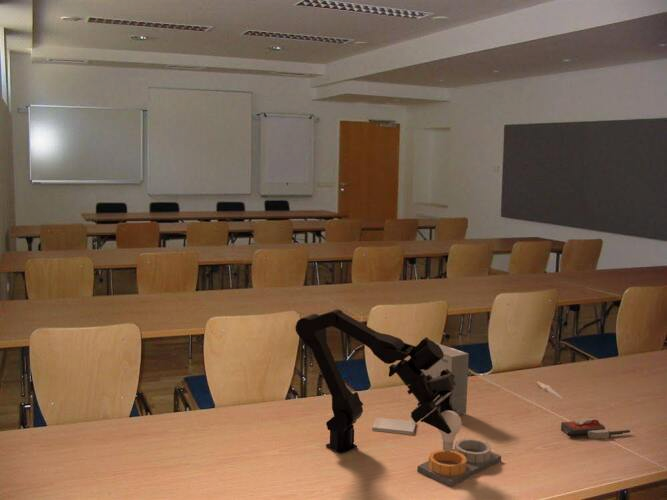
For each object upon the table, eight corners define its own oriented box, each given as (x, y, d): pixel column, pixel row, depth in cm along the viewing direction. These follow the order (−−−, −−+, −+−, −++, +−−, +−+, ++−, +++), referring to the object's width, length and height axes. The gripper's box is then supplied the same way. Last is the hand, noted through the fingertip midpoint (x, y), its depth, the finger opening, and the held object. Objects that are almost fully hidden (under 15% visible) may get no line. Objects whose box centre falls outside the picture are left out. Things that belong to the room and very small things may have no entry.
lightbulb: (455, 459, 175) (457, 418, 173) (431, 453, 178) (433, 413, 176) (463, 449, 181) (465, 409, 179) (439, 443, 184) (441, 404, 182)
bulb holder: (451, 486, 172) (451, 471, 172) (417, 471, 180) (417, 456, 180) (501, 461, 187) (501, 447, 186) (467, 447, 195) (468, 434, 194)
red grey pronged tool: (572, 442, 201) (631, 437, 205) (573, 428, 200) (633, 423, 205) (555, 430, 209) (613, 425, 214) (556, 416, 208) (614, 412, 213)
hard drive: (416, 421, 211) (376, 416, 214) (413, 431, 203) (371, 426, 206) (416, 426, 211) (376, 421, 214) (413, 436, 203) (371, 432, 206)
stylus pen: (534, 385, 248) (534, 380, 248) (540, 384, 249) (541, 379, 248) (559, 402, 234) (560, 396, 234) (566, 401, 235) (566, 396, 234)
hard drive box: (467, 414, 220) (470, 353, 217) (449, 419, 216) (452, 357, 213) (433, 399, 233) (436, 341, 230) (416, 403, 228) (419, 345, 225)
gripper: (425, 372, 169) (466, 424, 166) (448, 353, 186) (486, 399, 183) (394, 397, 174) (433, 448, 171) (419, 376, 190) (455, 422, 187)
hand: (453, 428), depth 178 cm, fingers closed on lightbulb, 6 cm apart
